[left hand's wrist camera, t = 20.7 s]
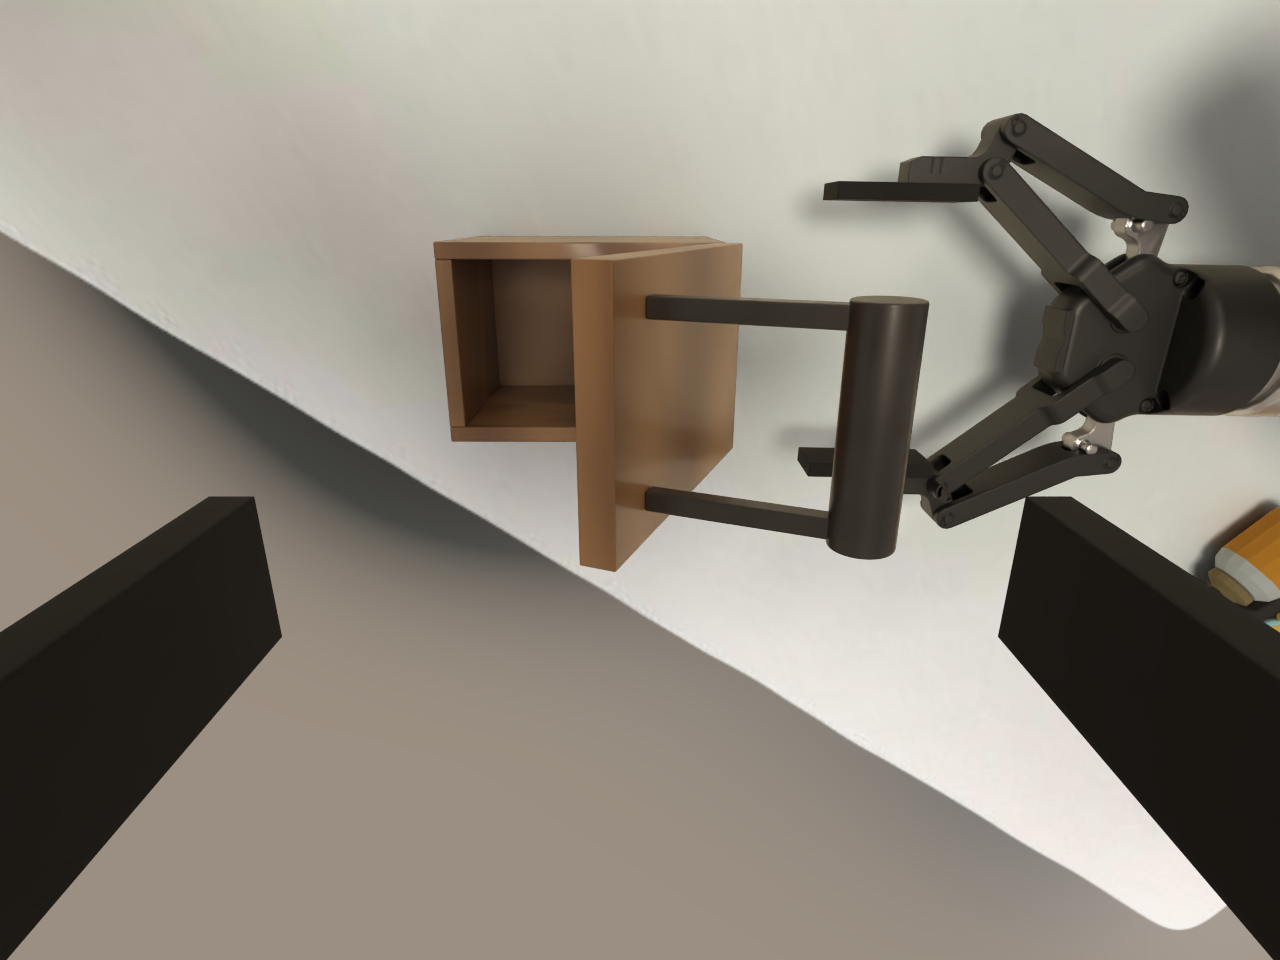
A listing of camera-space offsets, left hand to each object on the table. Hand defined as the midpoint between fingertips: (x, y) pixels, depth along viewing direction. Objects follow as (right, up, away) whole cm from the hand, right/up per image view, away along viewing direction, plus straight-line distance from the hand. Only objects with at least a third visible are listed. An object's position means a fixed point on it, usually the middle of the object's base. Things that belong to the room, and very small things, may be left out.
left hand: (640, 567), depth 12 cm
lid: (+1, +5, +15) cm, 16 cm away
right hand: (+9, +9, +24) cm, 27 cm away
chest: (-3, +11, +30) cm, 32 cm away
